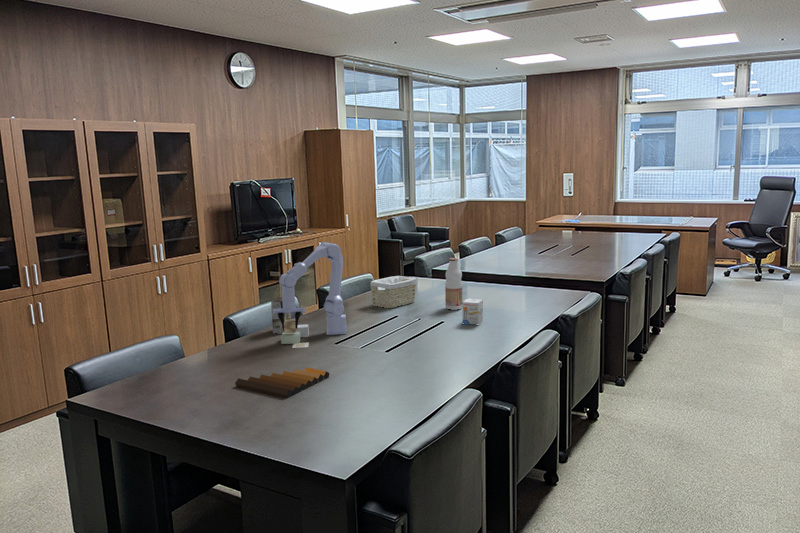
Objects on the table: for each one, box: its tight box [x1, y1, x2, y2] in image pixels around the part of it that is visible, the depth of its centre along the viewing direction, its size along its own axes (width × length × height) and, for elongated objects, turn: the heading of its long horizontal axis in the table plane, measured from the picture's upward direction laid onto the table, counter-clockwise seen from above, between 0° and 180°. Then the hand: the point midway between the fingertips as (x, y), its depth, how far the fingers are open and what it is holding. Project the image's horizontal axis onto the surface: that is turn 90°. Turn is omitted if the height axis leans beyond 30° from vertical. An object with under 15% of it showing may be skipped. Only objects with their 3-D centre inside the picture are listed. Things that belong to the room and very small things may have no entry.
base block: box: [280, 331, 301, 345], centre depth 287 cm, size 8×8×4 cm
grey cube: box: [296, 323, 310, 338], centre depth 296 cm, size 5×5×5 cm
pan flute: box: [234, 367, 330, 399], centre depth 235 cm, size 25×3×25 cm
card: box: [292, 342, 310, 349], centre depth 281 cm, size 7×7×1 cm
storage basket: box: [369, 275, 417, 310], centre depth 355 cm, size 24×16×15 cm
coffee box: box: [270, 297, 292, 335], centre depth 304 cm, size 9×6×16 cm
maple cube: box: [284, 318, 297, 333], centre depth 286 cm, size 5×5×5 cm
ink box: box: [461, 298, 484, 325], centre depth 311 cm, size 9×8×12 cm
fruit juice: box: [444, 257, 463, 311], centre depth 340 cm, size 9×9×28 cm
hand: (290, 328), depth 286 cm, fingers closed on maple cube, 5 cm apart
